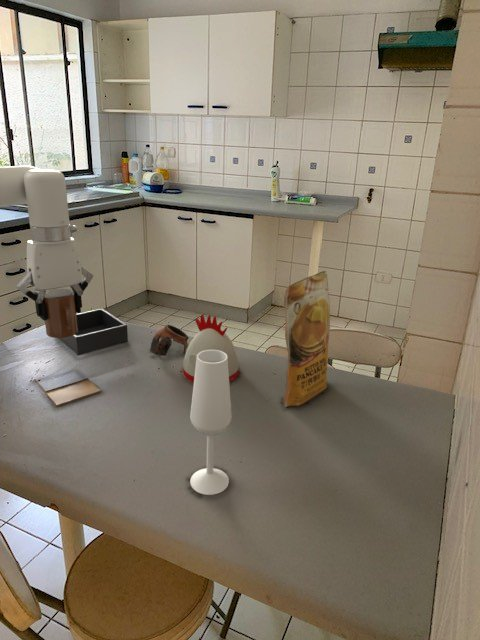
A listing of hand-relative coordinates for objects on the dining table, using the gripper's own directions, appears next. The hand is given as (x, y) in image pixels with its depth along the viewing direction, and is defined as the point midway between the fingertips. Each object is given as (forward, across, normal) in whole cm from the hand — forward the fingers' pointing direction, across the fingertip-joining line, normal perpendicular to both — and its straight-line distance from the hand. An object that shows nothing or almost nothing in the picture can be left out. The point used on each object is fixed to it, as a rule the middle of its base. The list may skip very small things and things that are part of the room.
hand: (60, 314), depth 101 cm
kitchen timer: (+18, -30, +15) cm, 38 cm away
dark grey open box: (+17, -14, -19) cm, 30 cm away
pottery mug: (+18, -27, 0) cm, 33 cm away
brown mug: (+4, 0, +1) cm, 4 cm away
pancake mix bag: (+18, -41, +36) cm, 57 cm away
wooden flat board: (+18, +1, +1) cm, 18 cm away
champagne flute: (+18, -6, +46) cm, 49 cm away
